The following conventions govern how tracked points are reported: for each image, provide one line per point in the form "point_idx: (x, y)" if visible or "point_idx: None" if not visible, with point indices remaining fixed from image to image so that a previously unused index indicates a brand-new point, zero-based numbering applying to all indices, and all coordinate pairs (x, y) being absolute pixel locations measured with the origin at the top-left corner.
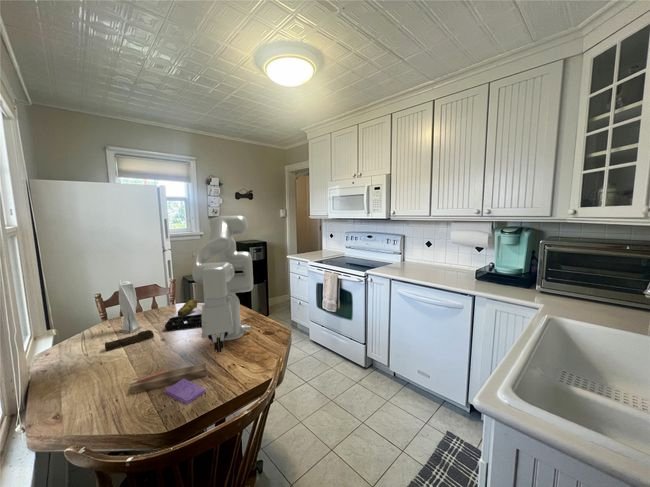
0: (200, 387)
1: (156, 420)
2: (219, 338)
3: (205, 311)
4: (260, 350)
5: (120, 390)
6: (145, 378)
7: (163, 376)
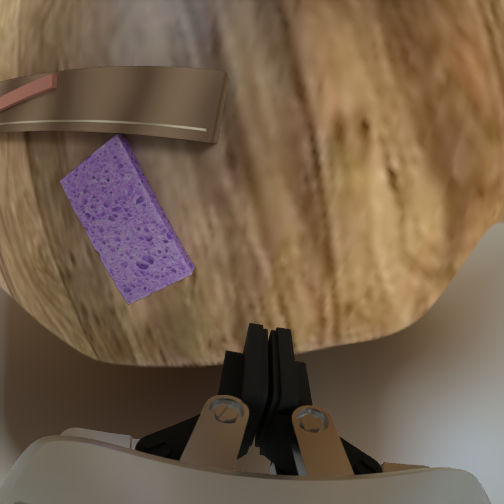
0: (174, 251)
1: (65, 309)
2: (272, 449)
3: None
4: (489, 105)
5: None
6: (2, 108)
7: (47, 106)
